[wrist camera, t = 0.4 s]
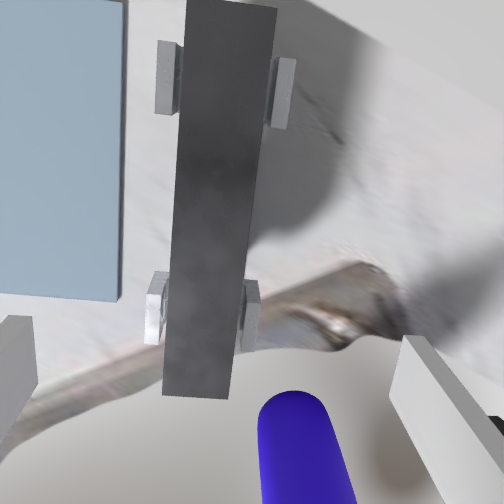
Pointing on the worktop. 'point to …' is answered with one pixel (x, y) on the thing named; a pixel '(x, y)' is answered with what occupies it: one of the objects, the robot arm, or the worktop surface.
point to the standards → (170, 104)
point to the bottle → (300, 453)
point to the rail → (214, 189)
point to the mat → (60, 147)
